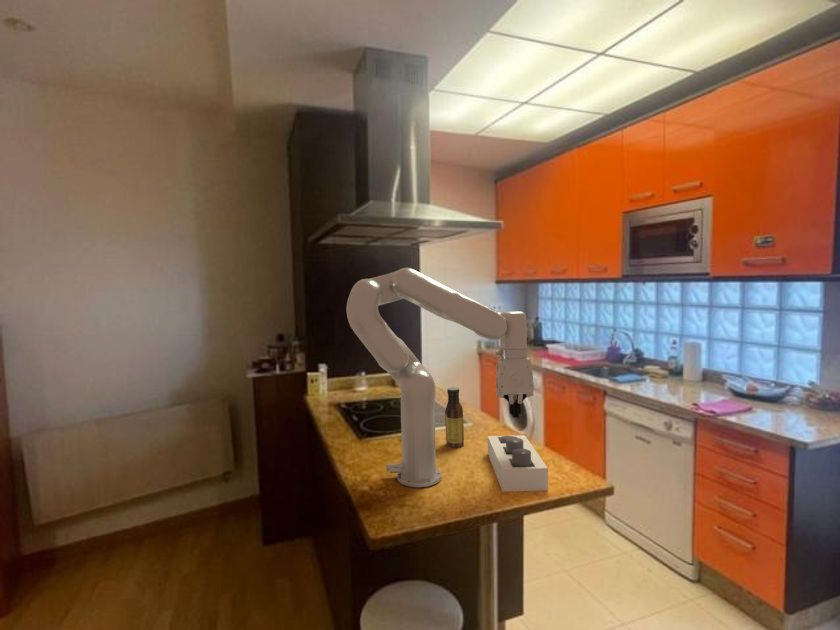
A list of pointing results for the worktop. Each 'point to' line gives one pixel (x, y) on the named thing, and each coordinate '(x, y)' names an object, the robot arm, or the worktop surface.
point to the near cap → (521, 458)
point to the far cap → (503, 438)
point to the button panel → (517, 476)
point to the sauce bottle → (454, 419)
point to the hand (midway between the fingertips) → (515, 416)
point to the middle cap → (513, 444)
